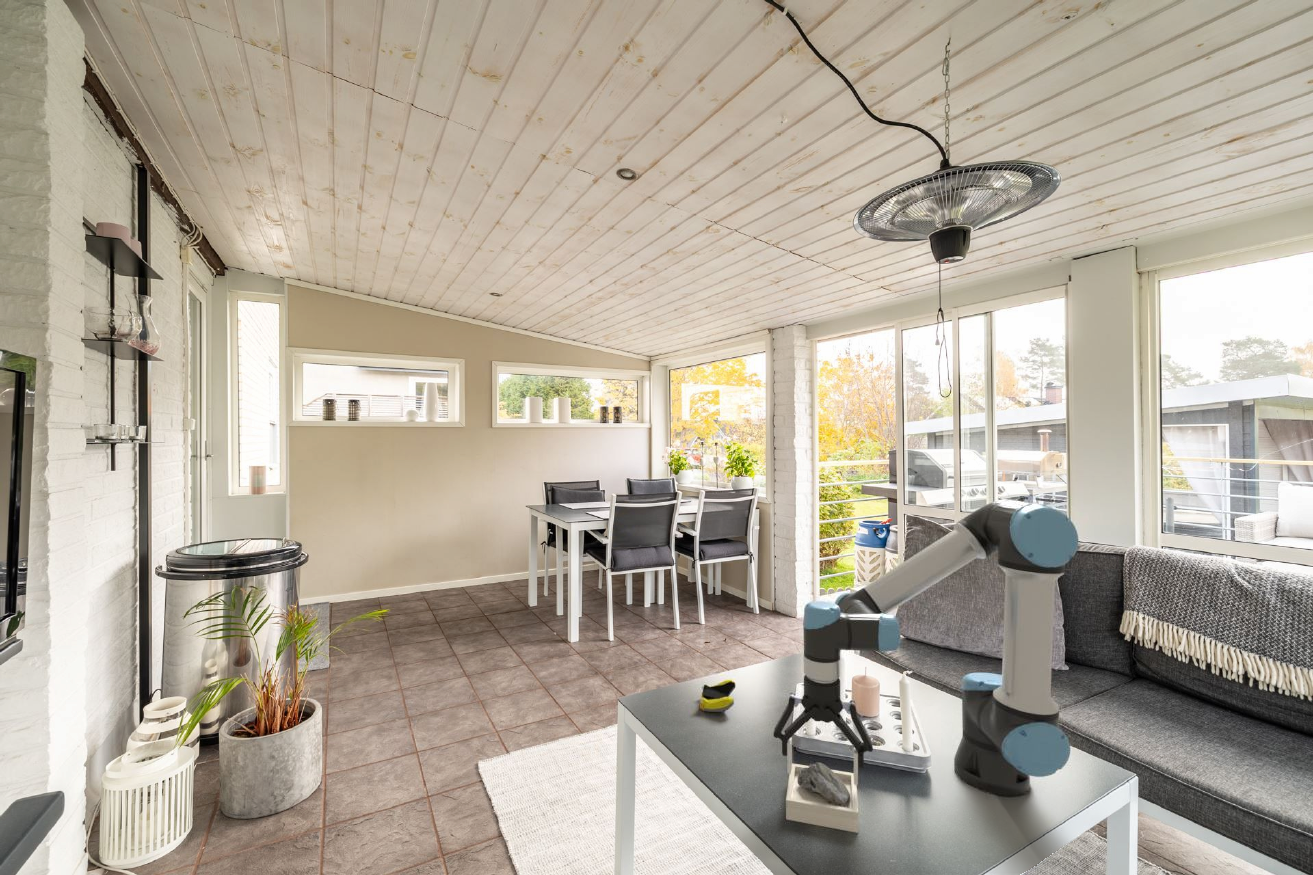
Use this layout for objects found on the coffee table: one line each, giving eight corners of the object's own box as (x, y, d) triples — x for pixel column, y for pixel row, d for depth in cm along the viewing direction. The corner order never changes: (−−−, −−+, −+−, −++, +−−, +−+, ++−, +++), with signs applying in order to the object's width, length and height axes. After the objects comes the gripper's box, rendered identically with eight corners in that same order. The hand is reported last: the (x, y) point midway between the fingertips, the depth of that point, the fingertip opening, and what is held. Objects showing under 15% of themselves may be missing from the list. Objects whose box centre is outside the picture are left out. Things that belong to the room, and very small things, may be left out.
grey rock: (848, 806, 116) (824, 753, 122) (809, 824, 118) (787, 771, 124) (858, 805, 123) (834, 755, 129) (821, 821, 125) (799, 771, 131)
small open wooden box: (855, 791, 128) (855, 773, 128) (858, 832, 115) (858, 812, 115) (791, 780, 132) (791, 763, 132) (786, 819, 119) (786, 799, 119)
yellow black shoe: (735, 695, 176) (703, 693, 178) (735, 677, 176) (703, 675, 178) (733, 719, 161) (697, 716, 163) (733, 699, 161) (697, 697, 163)
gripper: (883, 676, 123) (883, 775, 123) (764, 663, 131) (765, 756, 131) (885, 691, 116) (886, 796, 116) (760, 676, 124) (761, 775, 124)
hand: (822, 775), depth 124 cm, fingers open, 13 cm apart
